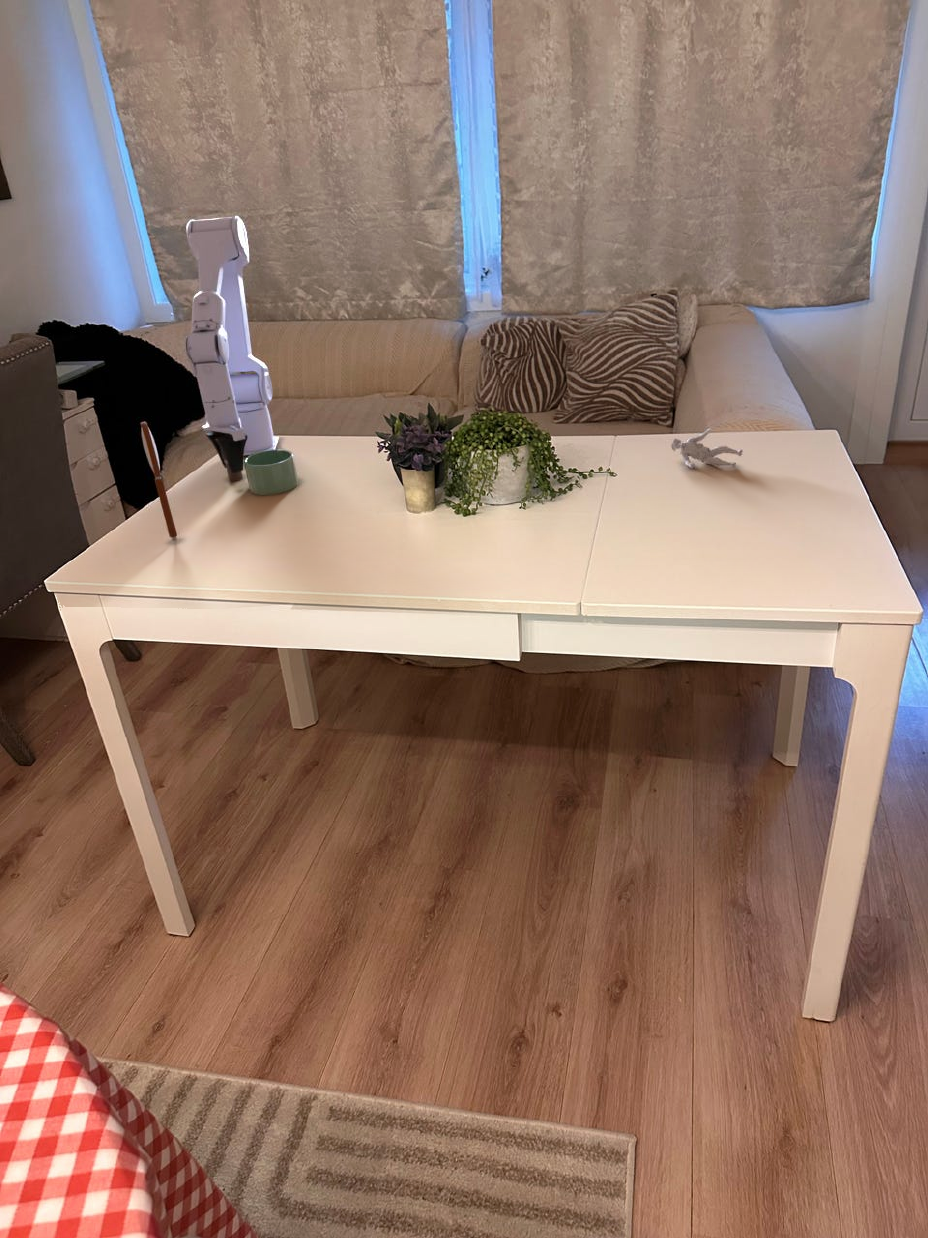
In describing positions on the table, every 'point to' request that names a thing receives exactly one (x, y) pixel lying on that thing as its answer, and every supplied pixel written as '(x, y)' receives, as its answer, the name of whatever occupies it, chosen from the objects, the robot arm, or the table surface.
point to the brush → (231, 475)
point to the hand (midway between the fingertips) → (233, 469)
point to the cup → (271, 472)
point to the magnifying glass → (158, 478)
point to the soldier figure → (703, 451)
